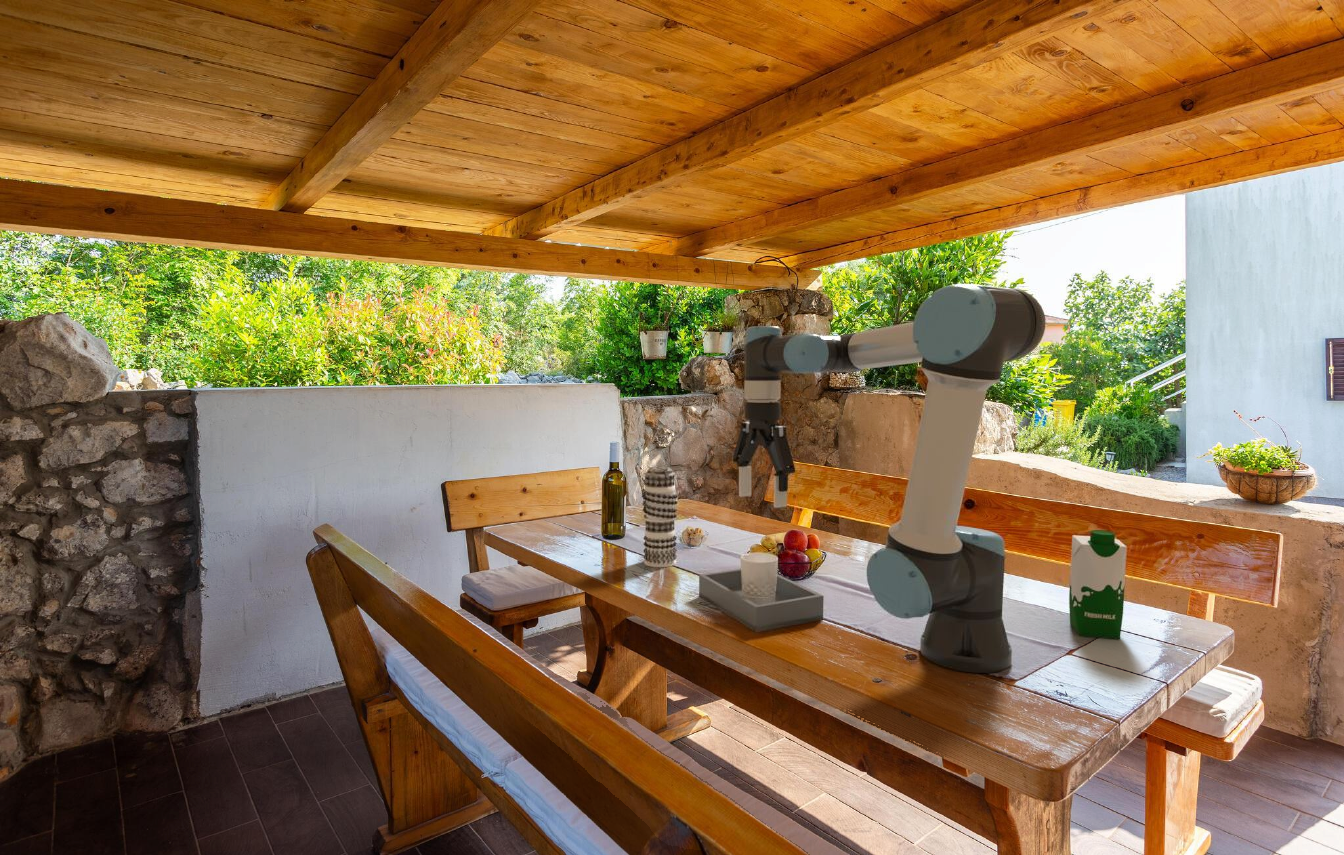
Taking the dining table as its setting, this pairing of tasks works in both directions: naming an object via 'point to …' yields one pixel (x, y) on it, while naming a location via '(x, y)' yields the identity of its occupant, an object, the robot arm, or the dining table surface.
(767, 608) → the bin
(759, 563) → the white cup
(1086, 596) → the milk carton
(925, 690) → the dining table surface
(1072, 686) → the dining table surface
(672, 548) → the decorative candle
